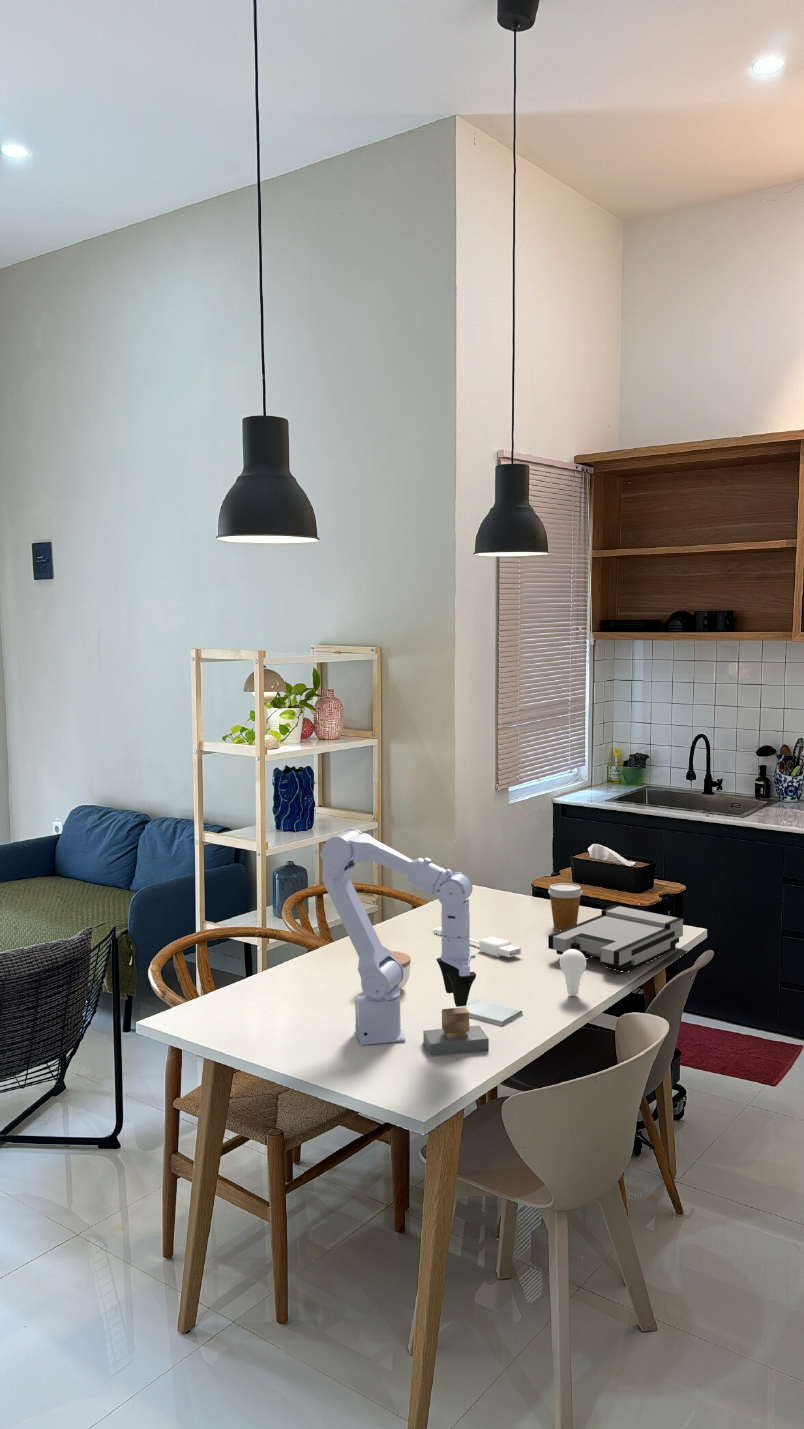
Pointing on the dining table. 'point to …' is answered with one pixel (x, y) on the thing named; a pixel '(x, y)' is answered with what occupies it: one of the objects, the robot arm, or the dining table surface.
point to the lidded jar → (405, 963)
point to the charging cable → (493, 946)
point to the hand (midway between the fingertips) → (456, 999)
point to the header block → (455, 1042)
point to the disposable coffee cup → (564, 904)
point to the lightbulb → (572, 969)
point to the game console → (621, 937)
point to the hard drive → (491, 1012)
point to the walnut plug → (455, 1022)
